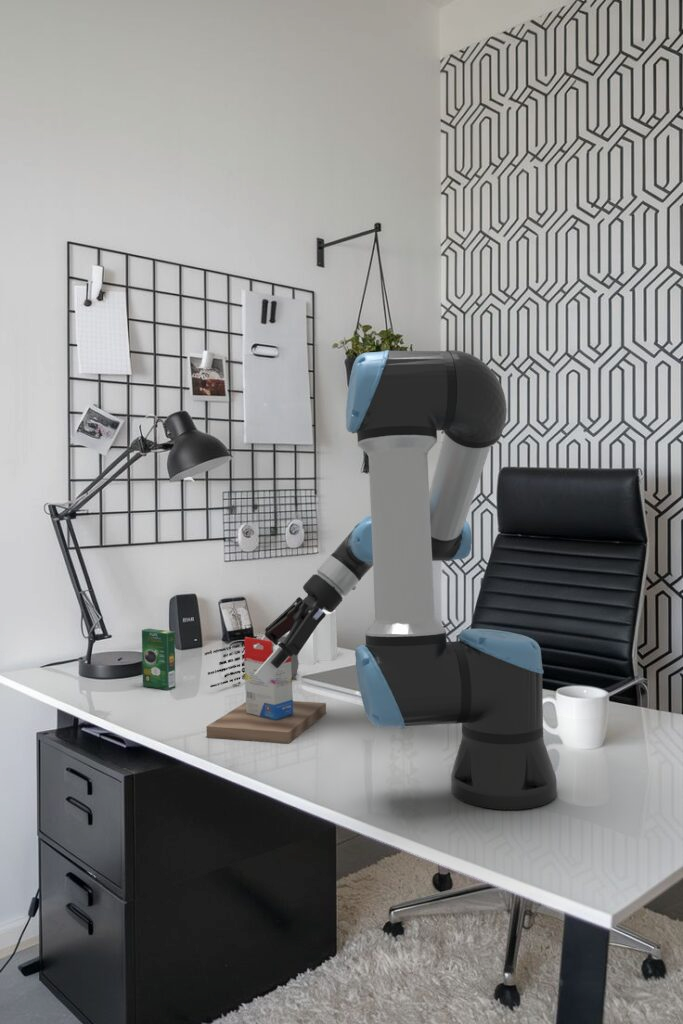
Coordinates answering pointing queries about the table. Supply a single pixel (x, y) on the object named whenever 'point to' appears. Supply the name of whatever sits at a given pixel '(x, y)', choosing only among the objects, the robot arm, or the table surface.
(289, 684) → the ink box
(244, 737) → the walnut plate
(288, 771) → the table surface
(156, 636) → the coffee box
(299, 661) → the corner bracket
